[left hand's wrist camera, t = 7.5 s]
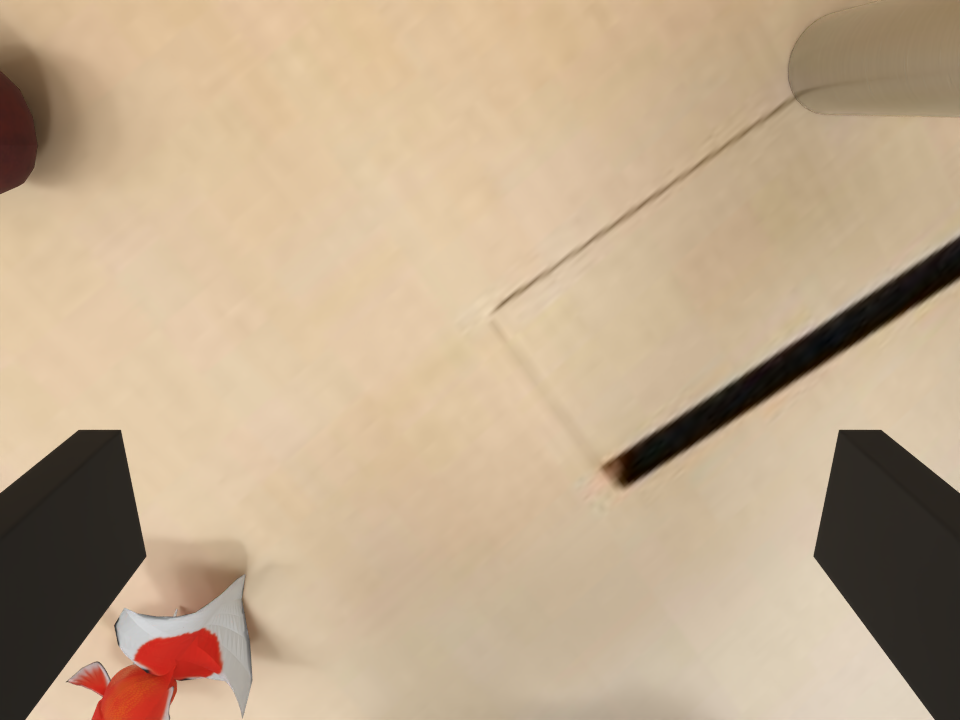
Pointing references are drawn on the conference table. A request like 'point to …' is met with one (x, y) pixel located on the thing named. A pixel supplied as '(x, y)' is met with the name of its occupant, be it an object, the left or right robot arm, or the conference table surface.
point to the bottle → (881, 60)
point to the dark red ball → (15, 137)
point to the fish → (173, 658)
